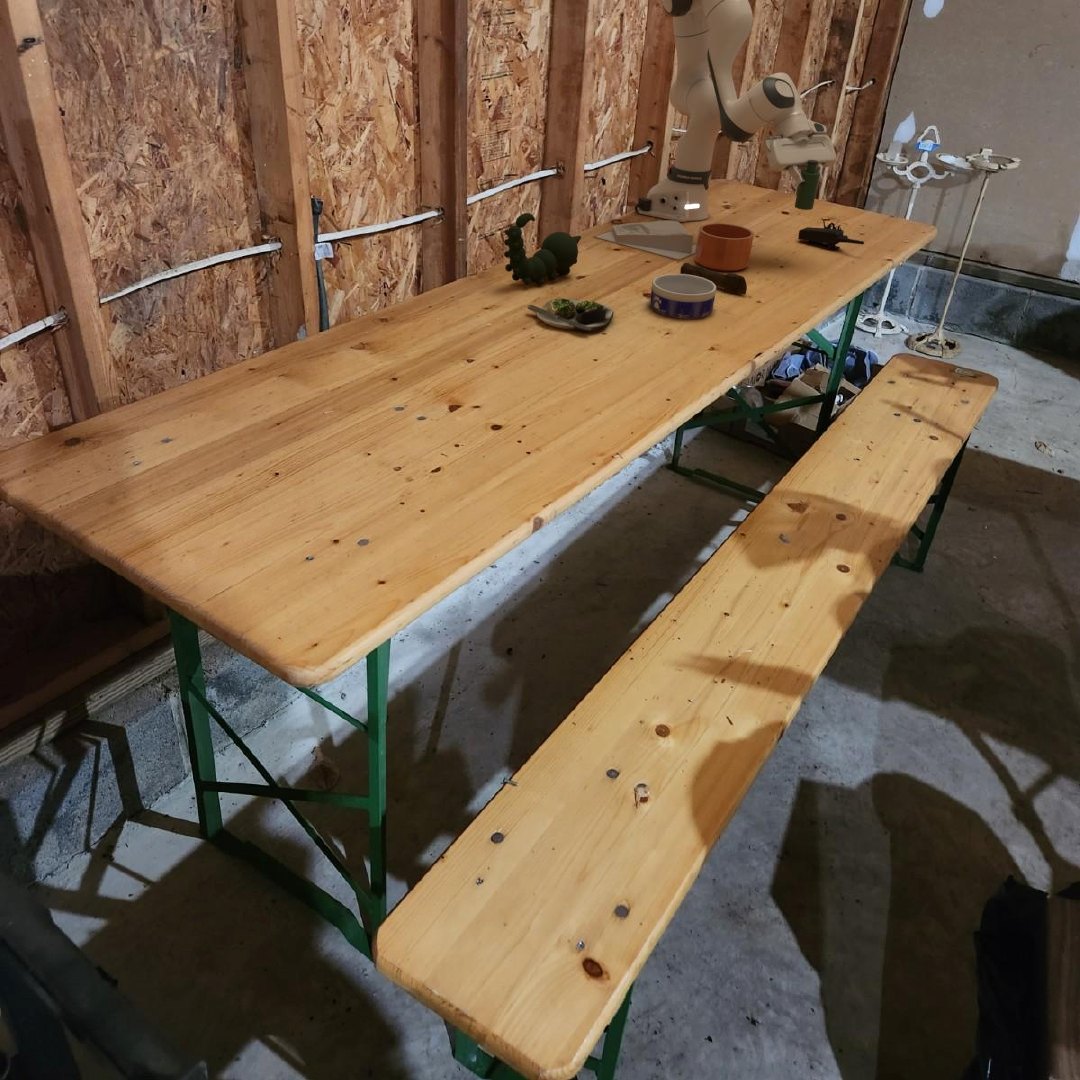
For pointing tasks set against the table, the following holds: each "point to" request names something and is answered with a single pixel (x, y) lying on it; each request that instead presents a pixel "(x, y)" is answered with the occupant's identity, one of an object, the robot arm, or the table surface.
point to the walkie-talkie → (825, 237)
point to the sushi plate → (574, 315)
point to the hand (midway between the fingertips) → (810, 182)
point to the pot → (724, 246)
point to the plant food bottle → (808, 187)
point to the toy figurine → (540, 254)
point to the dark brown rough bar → (718, 278)
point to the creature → (832, 225)
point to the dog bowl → (682, 296)
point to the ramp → (654, 238)
